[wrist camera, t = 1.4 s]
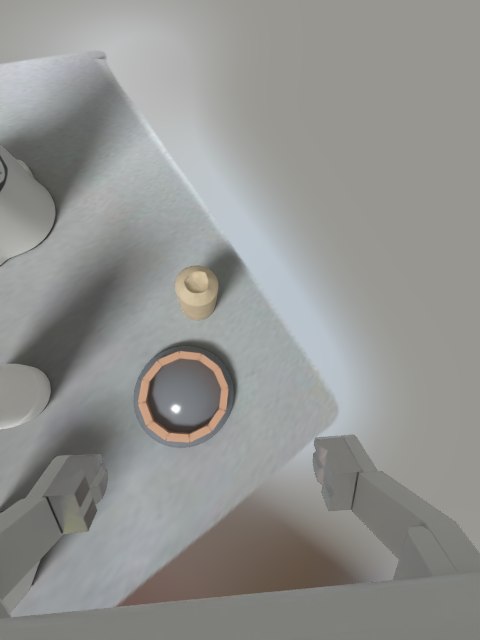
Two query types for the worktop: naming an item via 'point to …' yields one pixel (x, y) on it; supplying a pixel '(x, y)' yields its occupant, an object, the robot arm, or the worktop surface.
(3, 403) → the bottle
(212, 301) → the candle
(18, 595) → the milk carton
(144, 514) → the worktop surface
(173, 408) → the tray
